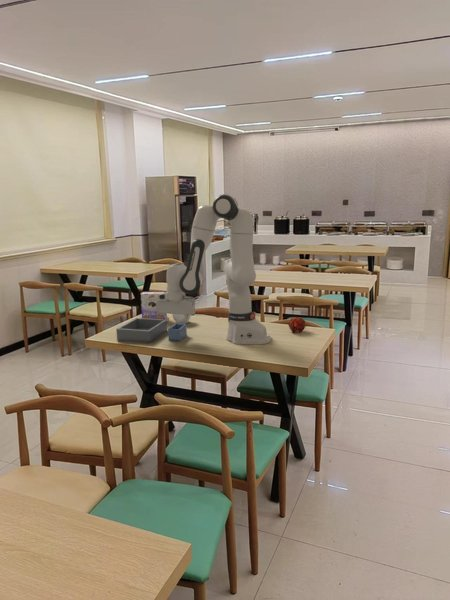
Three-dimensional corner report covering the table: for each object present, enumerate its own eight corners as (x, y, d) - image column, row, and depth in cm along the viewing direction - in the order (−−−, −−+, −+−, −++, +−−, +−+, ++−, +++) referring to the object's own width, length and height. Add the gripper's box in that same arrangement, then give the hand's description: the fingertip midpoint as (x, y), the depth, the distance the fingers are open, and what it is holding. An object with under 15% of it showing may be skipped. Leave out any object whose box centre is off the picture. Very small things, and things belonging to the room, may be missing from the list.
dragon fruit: (301, 331, 253) (295, 340, 243) (288, 321, 254) (282, 330, 244) (310, 320, 249) (304, 329, 238) (297, 310, 249) (291, 319, 239)
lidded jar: (171, 320, 273) (171, 305, 271) (190, 319, 274) (189, 304, 272) (173, 325, 262) (172, 309, 260) (192, 324, 264) (191, 308, 262)
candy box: (167, 318, 277) (165, 291, 274) (164, 321, 272) (163, 293, 268) (144, 318, 279) (142, 291, 275) (141, 321, 273) (140, 293, 269)
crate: (167, 330, 253) (166, 319, 252) (149, 342, 232) (149, 331, 231) (136, 328, 258) (136, 317, 257) (117, 340, 237) (116, 328, 236)
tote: (186, 335, 244) (186, 324, 242) (179, 341, 234) (179, 329, 233) (175, 334, 245) (175, 323, 244) (168, 340, 236) (168, 328, 235)
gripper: (197, 295, 235) (197, 322, 238) (159, 292, 241) (160, 319, 244) (192, 298, 229) (192, 325, 232) (154, 295, 235) (154, 322, 238)
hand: (175, 322), depth 238 cm, fingers open, 8 cm apart
